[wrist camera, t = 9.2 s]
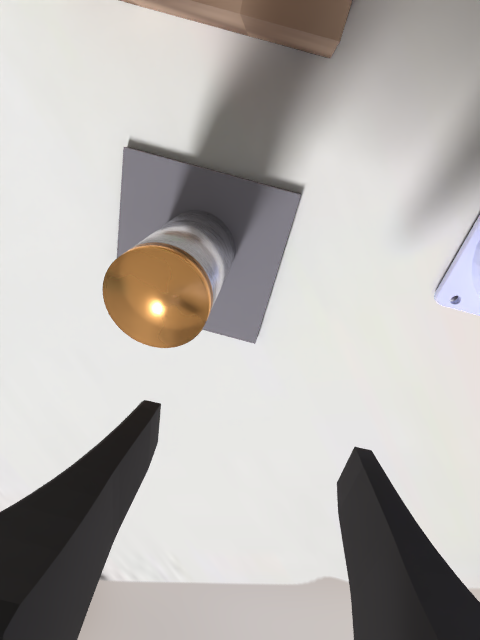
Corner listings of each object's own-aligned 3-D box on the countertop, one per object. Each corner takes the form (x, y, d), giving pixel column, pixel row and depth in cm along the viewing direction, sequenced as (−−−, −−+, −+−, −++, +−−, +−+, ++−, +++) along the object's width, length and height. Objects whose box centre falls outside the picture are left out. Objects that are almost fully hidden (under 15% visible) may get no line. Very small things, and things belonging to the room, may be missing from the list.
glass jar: (242, 220, 18) (217, 264, 12) (227, 289, 20) (199, 358, 14) (167, 202, 18) (103, 235, 12) (159, 272, 20) (101, 333, 14)
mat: (300, 194, 17) (301, 195, 17) (255, 340, 22) (254, 343, 21) (127, 146, 17) (123, 147, 17) (116, 303, 22) (113, 306, 21)
